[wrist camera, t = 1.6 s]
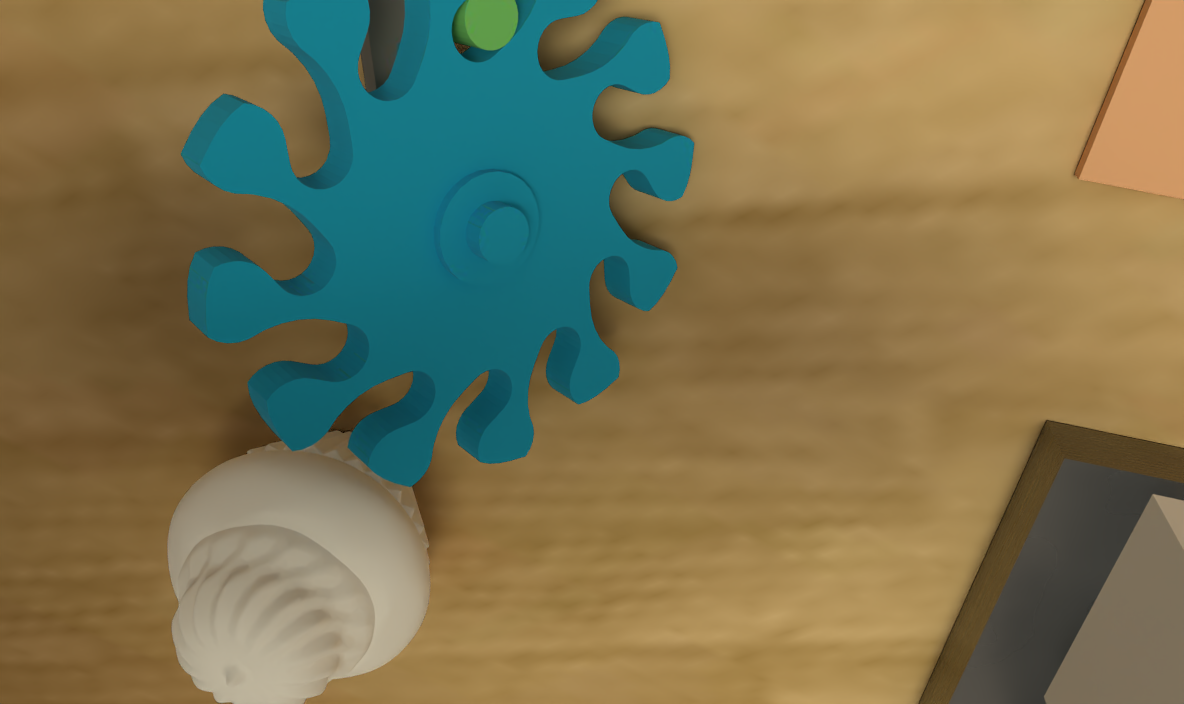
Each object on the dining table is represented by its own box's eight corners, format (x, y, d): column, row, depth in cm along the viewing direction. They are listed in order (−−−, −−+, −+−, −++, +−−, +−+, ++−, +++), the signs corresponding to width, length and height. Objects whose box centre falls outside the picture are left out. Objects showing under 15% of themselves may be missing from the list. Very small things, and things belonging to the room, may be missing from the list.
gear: (711, 389, 22) (281, 593, 17) (552, 305, 26) (167, 448, 21) (719, -178, 17) (102, -143, 12) (519, -170, 21) (-3, -141, 16)
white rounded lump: (366, 608, 28) (259, 828, 22) (194, 466, 27) (28, 661, 21) (516, 497, 26) (442, 712, 20) (335, 332, 24) (192, 510, 18)
